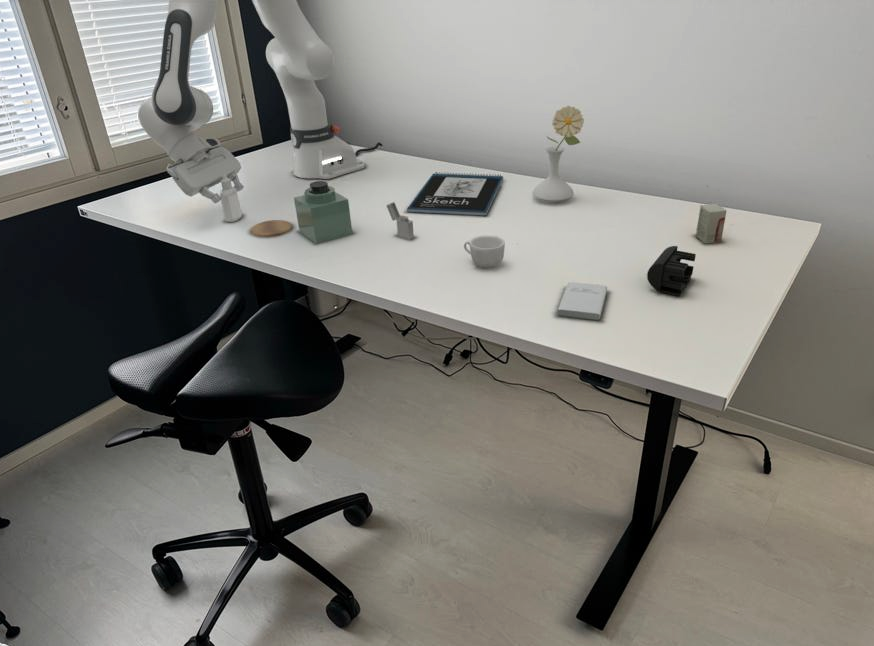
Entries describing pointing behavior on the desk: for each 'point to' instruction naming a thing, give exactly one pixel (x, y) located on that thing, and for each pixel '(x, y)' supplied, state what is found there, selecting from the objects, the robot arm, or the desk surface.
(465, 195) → the sketchbook
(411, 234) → the lighter
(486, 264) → the teacup
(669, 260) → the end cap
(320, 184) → the grey short cylinder
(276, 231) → the coaster
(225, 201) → the eye dropper bottle
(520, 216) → the desk surface
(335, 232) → the dispenser
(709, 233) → the small box
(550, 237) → the desk surface
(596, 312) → the hard drive
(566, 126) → the flower in vase
